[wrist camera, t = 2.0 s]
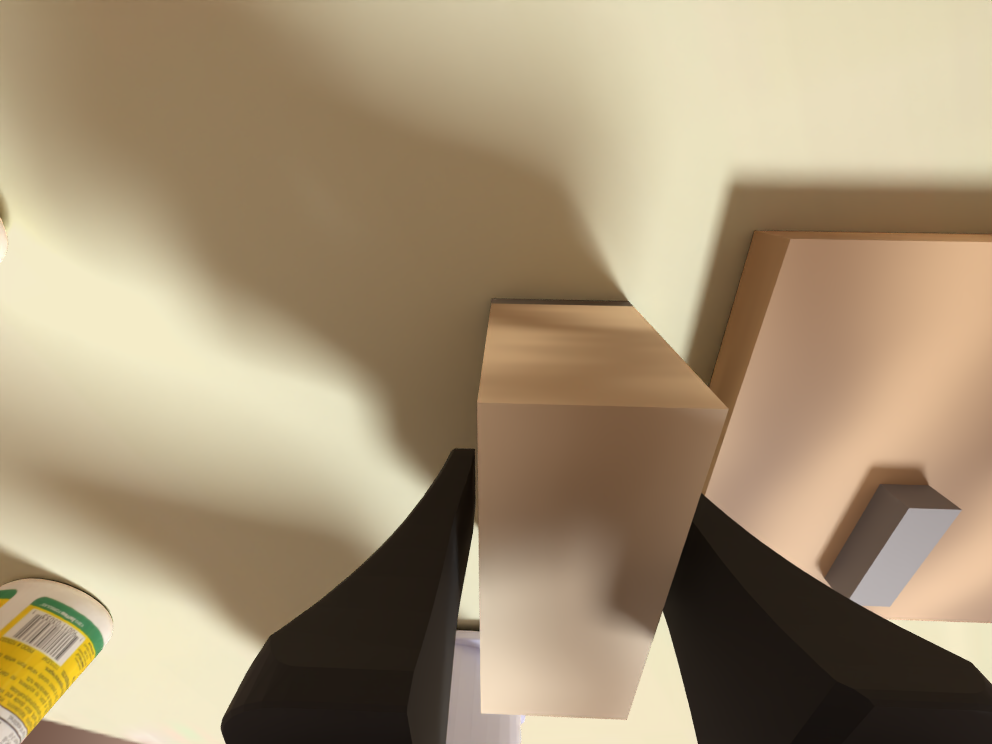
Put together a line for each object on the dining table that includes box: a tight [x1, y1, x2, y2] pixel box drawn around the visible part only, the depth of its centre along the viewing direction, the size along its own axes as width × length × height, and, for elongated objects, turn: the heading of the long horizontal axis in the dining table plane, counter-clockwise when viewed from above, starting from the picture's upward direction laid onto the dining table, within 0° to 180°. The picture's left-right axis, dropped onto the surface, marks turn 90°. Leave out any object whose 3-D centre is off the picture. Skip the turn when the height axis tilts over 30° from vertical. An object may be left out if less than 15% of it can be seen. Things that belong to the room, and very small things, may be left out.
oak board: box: [701, 231, 992, 623], centre depth 13 cm, size 14×14×2 cm
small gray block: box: [824, 484, 962, 607], centre depth 13 cm, size 2×4×1 cm, turn 179°
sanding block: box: [477, 299, 729, 720], centre depth 11 cm, size 4×10×6 cm, turn 179°
